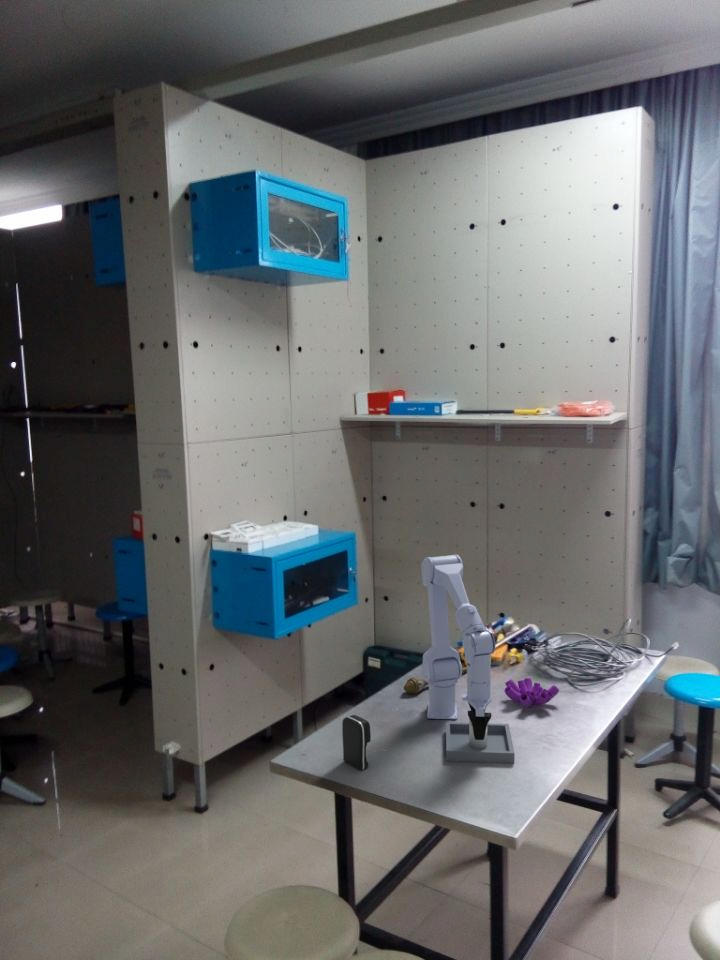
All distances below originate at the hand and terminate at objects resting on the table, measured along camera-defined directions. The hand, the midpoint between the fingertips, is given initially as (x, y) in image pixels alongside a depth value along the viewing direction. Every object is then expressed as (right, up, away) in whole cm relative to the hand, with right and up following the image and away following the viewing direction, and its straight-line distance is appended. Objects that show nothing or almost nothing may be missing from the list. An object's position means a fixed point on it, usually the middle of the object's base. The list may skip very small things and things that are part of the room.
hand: (478, 732), depth 188 cm
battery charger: (-30, -5, -7) cm, 31 cm away
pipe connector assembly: (+18, -1, +25) cm, 31 cm away
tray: (0, -4, 0) cm, 4 cm away
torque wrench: (-3, +1, +44) cm, 45 cm away
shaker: (0, -3, 0) cm, 3 cm away
